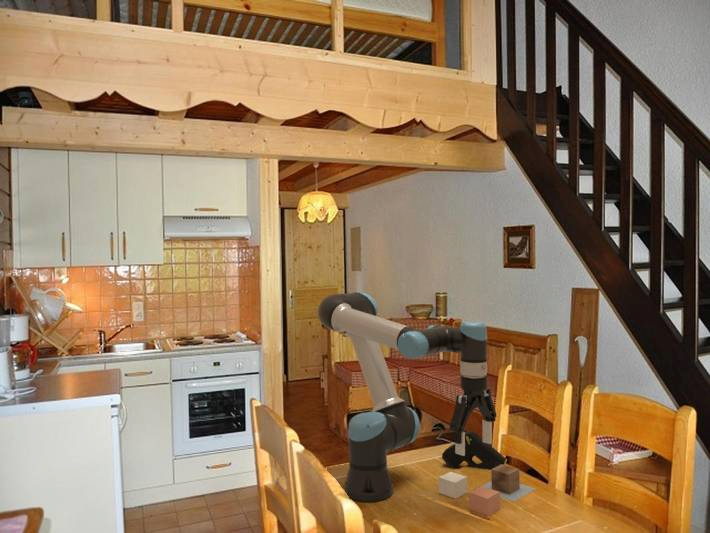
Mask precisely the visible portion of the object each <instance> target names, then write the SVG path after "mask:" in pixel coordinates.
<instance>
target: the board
mask: <svg viewBox="0 0 710 533" xmlns="http://www.w3.org/2000/svg"><path fill="white" fill-rule="evenodd" d="M481 486H482V487H486V488H489V489H492V482H491V480H490V481H488V482H486V483H485V484H483V485H481ZM492 490H493V489H492ZM534 490H536V487H532V486H529V485H526V484H522V483H520V489H518V490H516V491H515V492H513V493H511V494H510V495H509V494H506V493H502V492H500V499H504V500H506V501H510V502H513V503H514V502H516V501H518V500H520V499H522V498H523V497H525V496H527V494H530V493H531V492H533V491H534ZM495 491H496V490H495ZM498 492H499V491H498Z"/></svg>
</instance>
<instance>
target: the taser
mask: <svg viewBox="0 0 710 533" xmlns="http://www.w3.org/2000/svg"><path fill="white" fill-rule="evenodd" d="M464 432H465V455H464V456H462V455H459V454H456V453H455V443H453V444H452V445H450V446H449V447H447V448H446V449H445V450H444V451H443V452H442V453H441V454H442V455H441V459H442V460H443V461H444V462H445V464H446V465H447V467H448V468H449V469H453V468H457V467H459V466H460V465H462V464H463V462H465V463H467V464H468V465H469V466H470V467H471V468H475V469H482V470H490V471H491V469H493V468H495V467H497V466H499V465H501V464H503V465H506V464H507V461H508V459H507V458H506V457H505V456H504V455H503V454H502V453H500V452H499V451H498V450H496V449H495V448H494V447H493V446H491V444H488V443H484V442H483V437H482V436H481V437H480V436H479V435H478V434H477V433H476V432H475V431H473V430H470V431H464ZM474 457H476V458H477V459H478V460H479V461H480V462H479V463H476V462H475V461H474V459H473V458H474Z"/></svg>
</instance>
